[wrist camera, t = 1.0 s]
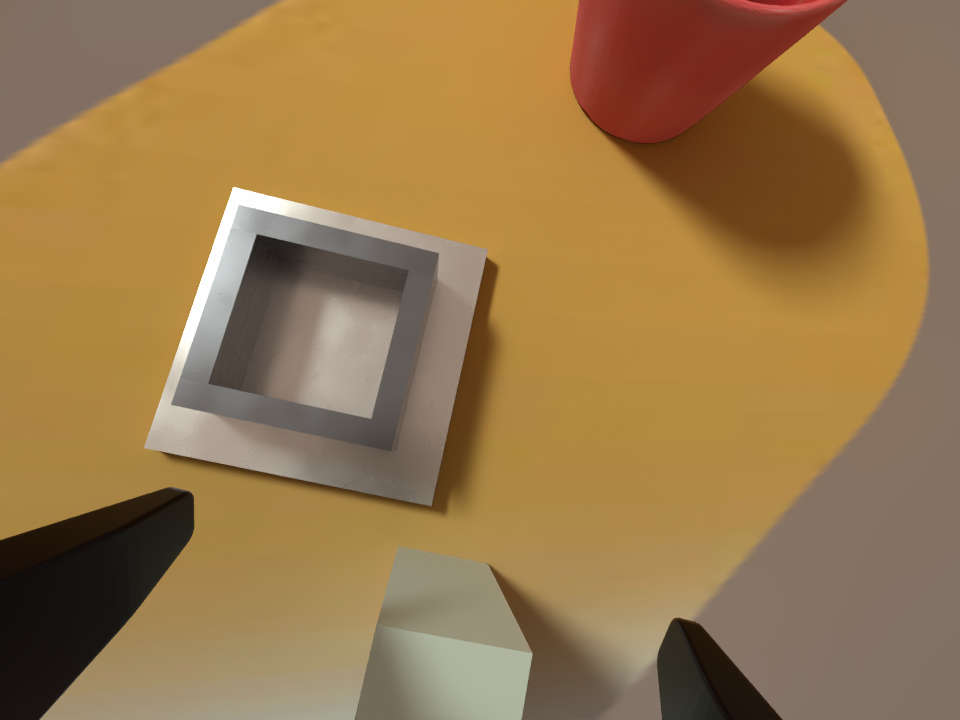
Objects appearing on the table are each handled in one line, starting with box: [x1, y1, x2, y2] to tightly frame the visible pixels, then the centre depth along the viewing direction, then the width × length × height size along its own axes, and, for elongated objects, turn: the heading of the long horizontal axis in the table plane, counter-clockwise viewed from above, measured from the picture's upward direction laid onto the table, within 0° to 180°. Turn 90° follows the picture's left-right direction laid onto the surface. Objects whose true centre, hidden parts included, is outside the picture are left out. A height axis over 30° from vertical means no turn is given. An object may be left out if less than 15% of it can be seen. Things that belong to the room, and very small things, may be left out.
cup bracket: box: [144, 187, 488, 506], centre depth 20 cm, size 12×12×4 cm
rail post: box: [355, 546, 533, 720], centre depth 16 cm, size 4×4×9 cm
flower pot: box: [570, 0, 847, 143], centre depth 21 cm, size 11×11×10 cm
